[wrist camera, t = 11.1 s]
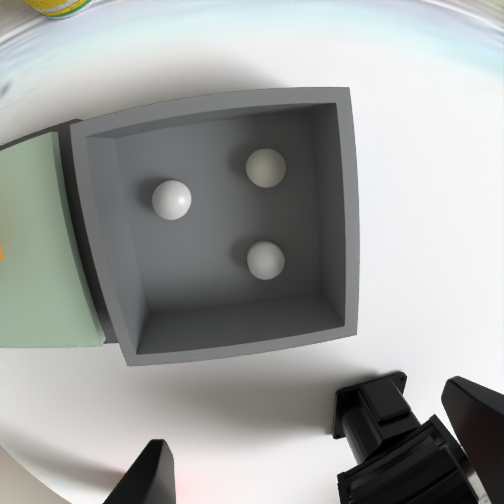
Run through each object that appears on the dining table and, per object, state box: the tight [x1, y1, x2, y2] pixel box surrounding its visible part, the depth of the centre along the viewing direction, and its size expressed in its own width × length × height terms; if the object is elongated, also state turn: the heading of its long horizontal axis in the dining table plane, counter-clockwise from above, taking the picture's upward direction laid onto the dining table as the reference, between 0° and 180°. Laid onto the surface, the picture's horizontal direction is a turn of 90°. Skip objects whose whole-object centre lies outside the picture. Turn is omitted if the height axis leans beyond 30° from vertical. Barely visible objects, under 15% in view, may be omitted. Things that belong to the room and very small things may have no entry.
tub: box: [70, 87, 360, 366], centre depth 16 cm, size 12×12×5 cm
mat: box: [0, 119, 119, 344], centre depth 17 cm, size 14×14×1 cm
